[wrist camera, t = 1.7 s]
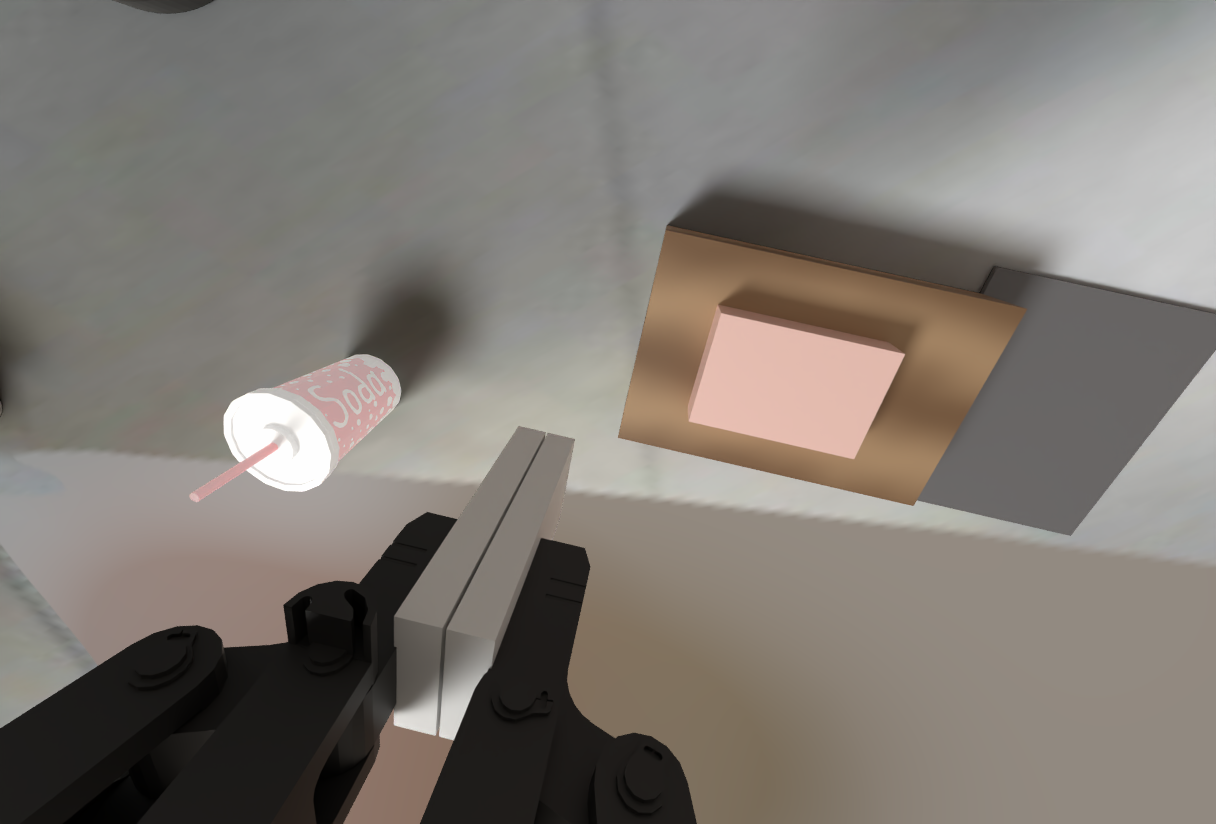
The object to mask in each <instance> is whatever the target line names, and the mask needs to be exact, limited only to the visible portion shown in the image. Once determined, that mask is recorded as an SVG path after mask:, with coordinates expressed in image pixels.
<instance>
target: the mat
mask: <svg viewBox="0 0 1216 824" xmlns="http://www.w3.org/2000/svg"><path fill="white" fill-rule="evenodd" d="M980 293H981V294H984V295H987V296H990V297H993V298H996V299H999V300H1002V301H1005V302H1008V303H1011V304H1014V305H1017V306H1020V307H1023V308H1026V309H1027V311H1026V312H1025V314H1024V316H1023V318H1022V319H1021V321H1020V323H1019V324H1018V326H1017V328H1016V330H1015V331H1014V333H1013V335H1012V337H1011V338H1010V340H1009V342H1008V343H1007V345H1006V347H1005V349H1004V350H1003V352H1002V354H1001V356H1000V357H999V359H998V361H997V362H996V364H995V366H994V368H993V369H992V371H991V373H990V375H989V376H988V378H987V380H986V381H985V383H984V385H983V387H982V388H981V390H980V392H979V394H978V395H977V397H976V399H975V400H974V402H973V404H972V406H971V407H970V409H969V411H968V413H967V414H966V416H965V418H964V419H963V421H962V423H961V425H960V426H959V428H958V430H957V431H956V433H955V435H954V437H953V438H952V440H951V442H950V444H949V445H948V447H947V449H946V450H945V452H944V454H943V456H942V457H941V459H940V461H939V463H938V464H937V466H936V468H935V469H934V471H933V473H932V475H931V476H930V478H929V480H928V482H927V483H926V485H925V487H924V488H923V490H922V492H921V494H920V495H919V497H918V499H917V500H918V501H922V502H927V503H931V504H935V505H940V506H944V507H948V508H953V509H957V510H961V511H966V512H970V513H974V514H979V515H983V516H987V517H992V518H996V519H1000V520H1005V521H1009V522H1013V523H1018V524H1022V525H1026V526H1031V527H1035V528H1039V529H1044V530H1048V531H1052V532H1057V533H1061V534H1065V535H1070V536H1071V535H1072V533H1073V532H1074V531H1075V530H1076V528H1077V527H1078V526H1079V524H1080V523H1081V522H1082V521H1083V519H1084V518H1085V517H1086V515H1087V514H1088V513H1089V512H1090V510H1091V509H1092V508H1093V506H1094V505H1095V504H1096V503H1097V501H1098V500H1099V499H1100V498H1101V496H1102V495H1103V494H1104V492H1105V491H1106V490H1107V489H1108V487H1109V486H1110V485H1111V483H1112V482H1113V481H1114V480H1115V478H1116V477H1117V476H1118V474H1119V473H1120V472H1121V471H1122V469H1123V468H1124V467H1125V466H1126V464H1127V463H1128V462H1129V460H1130V459H1131V458H1132V457H1133V455H1134V454H1135V453H1136V451H1137V450H1138V449H1139V448H1140V446H1141V445H1142V444H1143V442H1144V441H1145V440H1146V439H1147V437H1148V436H1149V435H1150V434H1151V432H1152V431H1153V430H1154V428H1155V427H1156V426H1157V425H1158V423H1159V422H1160V421H1161V419H1162V418H1163V417H1164V416H1165V414H1166V413H1167V412H1168V410H1169V409H1170V408H1171V407H1172V405H1173V404H1174V403H1175V402H1176V400H1177V399H1178V398H1179V396H1180V395H1181V394H1182V393H1183V391H1184V390H1185V389H1186V387H1187V386H1188V385H1189V384H1190V382H1191V381H1192V380H1193V378H1194V377H1195V376H1196V375H1197V373H1198V372H1199V371H1200V369H1201V368H1202V367H1203V366H1204V364H1205V363H1206V362H1207V361H1208V359H1209V358H1210V357H1211V355H1212V354H1213V353H1214V352H1215V350H1216V314H1213V313H1208V312H1204V311H1199V310H1195V309H1190V308H1185V307H1181V306H1176V305H1171V304H1167V303H1162V302H1158V301H1153V300H1148V299H1144V298H1139V297H1134V296H1130V295H1125V294H1121V293H1116V292H1111V291H1107V290H1102V289H1097V288H1093V287H1088V286H1083V285H1079V284H1074V283H1070V282H1065V281H1060V280H1056V279H1051V278H1046V277H1042V276H1037V275H1033V274H1028V273H1023V272H1019V271H1014V270H1009V269H1005V268H1000V267H996V266H994V268H993V270H992V272H991V274H990V275H989V277H988V279H987V281H986V283H985V285H984V287H983V289H982V291H981V292H980Z"/></svg>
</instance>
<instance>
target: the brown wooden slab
mask: <svg viewBox="0 0 1216 824" xmlns="http://www.w3.org/2000/svg"><path fill="white" fill-rule="evenodd" d="M717 305H722V306H727V307H731V308H736V309H740V310H745V311H749V312H754V313H758V314H763V315H767V316H772V317H776V318H781V319H786V320H790V321H795V322H799V323H804V324H808V325H813V326H817V327H822V328H826V329H831V330H835V331H840V332H844V333H849V334H853V335H858V336H862V337H867V338H871V339H876V340H880V341H885V342H889V343H890V344H892V345H893V346H894V347H896V348H897V349H899V350H900V351H902V352H903V353H904V354H905V356H904V358H903V360H902V362H901V364H900V366H899V368H898V370H897V372H896V374H895V376H894V379H893V381H892V383H891V385H890V387H889V389H888V391H887V393H886V395H885V397H884V399H883V401H882V403H881V405H880V407H879V409H878V411H877V413H876V415H875V417H874V420H873V422H872V424H871V426H870V428H869V430H868V432H867V434H866V436H865V438H864V440H863V442H862V444H861V446H860V448H859V450H858V452H857V454H856V456H855V458H854V459H850V458H846V457H842V456H837V455H833V454H829V453H824V452H820V451H815V450H811V449H807V448H802V447H798V446H794V445H789V444H785V443H780V442H776V441H772V440H767V439H763V438H759V437H754V436H750V435H746V434H741V433H737V432H732V431H728V430H724V429H719V428H715V427H711V426H706V425H702V424H698V423H693V422H689V419H688V404H689V400H690V397H691V393H692V390H693V387H694V383H695V380H696V376H697V373H698V370H699V366H700V363H701V359H702V356H703V353H704V349H705V346H706V342H707V339H708V336H709V332H710V329H711V325H712V322H713V319H714V315H715V312H716V309H717ZM1026 311H1027V309H1026V308H1023V307H1020V306H1017V305H1014V304H1011V303H1008V302H1005V301H1002V300H999V299H996V298H993V297H990V296H987V295H984V294H981V293H976V292H972V291H967V290H963V289H958V288H954V287H949V286H944V285H940V284H935V283H931V282H926V281H921V280H917V279H912V278H908V277H903V276H898V275H894V274H889V273H885V272H880V271H875V270H871V269H866V268H862V267H857V266H853V265H848V264H843V263H839V262H834V261H830V260H825V259H820V258H816V257H811V256H807V255H802V254H797V253H793V252H788V251H784V250H779V249H774V248H770V247H765V246H761V245H756V244H752V243H747V242H742V241H738V240H733V239H729V238H724V237H719V236H715V235H710V234H706V233H701V232H696V231H692V230H687V229H683V228H678V227H673V226H669V225H667V227H666V231H665V235H664V240H663V244H662V248H661V253H660V257H659V261H658V266H657V270H656V274H655V279H654V283H653V287H652V291H651V296H650V300H649V304H648V309H647V313H646V317H645V322H644V326H643V330H642V335H641V339H640V343H639V348H638V352H637V356H636V361H635V365H634V369H633V374H632V378H631V382H630V386H629V391H628V395H627V399H626V404H625V408H624V412H623V417H622V422H621V426H620V431H619V435H618V438H622V439H626V440H630V441H635V442H639V443H643V444H648V445H652V446H656V447H661V448H665V449H669V450H674V451H678V452H682V453H687V454H691V455H695V456H700V457H704V458H708V459H713V460H717V461H721V462H726V463H730V464H734V465H739V466H743V467H747V468H752V469H756V470H760V471H765V472H769V473H773V474H778V475H782V476H786V477H791V478H795V479H799V480H804V481H808V482H812V483H817V484H821V485H825V486H830V487H834V488H838V489H842V490H847V491H851V492H855V493H860V494H864V495H868V496H873V497H877V498H881V499H886V500H890V501H894V502H899V503H903V504H907V505H912V506H914V504H915V502H916V501H917V499H918V497H919V495H920V494H921V492H922V490H923V488H924V487H925V485H926V483H927V482H928V480H929V478H930V476H931V475H932V473H933V471H934V469H935V468H936V466H937V464H938V463H939V461H940V459H941V457H942V456H943V454H944V452H945V450H946V449H947V447H948V445H949V444H950V442H951V440H952V438H953V437H954V435H955V433H956V431H957V430H958V428H959V426H960V425H961V423H962V421H963V419H964V418H965V416H966V414H967V413H968V411H969V409H970V407H971V406H972V404H973V402H974V400H975V399H976V397H977V395H978V394H979V392H980V390H981V388H982V387H983V385H984V383H985V381H986V380H987V378H988V376H989V375H990V373H991V371H992V369H993V368H994V366H995V364H996V362H997V361H998V359H999V357H1000V356H1001V354H1002V352H1003V350H1004V349H1005V347H1006V345H1007V343H1008V342H1009V340H1010V338H1011V337H1012V335H1013V333H1014V331H1015V330H1016V328H1017V326H1018V324H1019V323H1020V321H1021V319H1022V318H1023V316H1024V314H1025V312H1026Z"/></svg>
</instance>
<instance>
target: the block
mask: <svg viewBox="0 0 1216 824" xmlns="http://www.w3.org/2000/svg"><path fill="white" fill-rule="evenodd" d="M904 356H905V354H904V353H903V352H902V351H900V350H899V349H897V348H896V347H894V346H893V345H892V344H890V343H889V342H885V341H880V340H876V339H871V338H867V337H862V336H858V335H853V334H849V333H844V332H840V331H835V330H831V329H826V328H822V327H817V326H813V325H808V324H804V323H799V322H795V321H790V320H786V319H781V318H776V317H772V316H767V315H763V314H758V313H754V312H749V311H745V310H740V309H736V308H731V307H727V306H722V305H717V309H716V312H715V315H714V319H713V322H712V325H711V329H710V332H709V336H708V339H707V342H706V346H705V349H704V353H703V356H702V359H701V363H700V366H699V370H698V373H697V376H696V380H695V383H694V387H693V390H692V393H691V397H690V400H689V404H688V419H689V422H693V423H698V424H702V425H706V426H711V427H715V428H719V429H724V430H728V431H732V432H737V433H741V434H746V435H750V436H754V437H759V438H763V439H767V440H772V441H776V442H780V443H785V444H789V445H794V446H798V447H802V448H807V449H811V450H815V451H820V452H824V453H829V454H833V455H837V456H842V457H846V458H850V459H854V458H855V456H856V454H857V452H858V450H859V448H860V446H861V444H862V442H863V440H864V438H865V436H866V434H867V432H868V430H869V428H870V426H871V424H872V422H873V420H874V417H875V415H876V413H877V411H878V409H879V407H880V405H881V403H882V401H883V399H884V397H885V395H886V393H887V391H888V389H889V387H890V385H891V383H892V381H893V379H894V376H895V374H896V372H897V370H898V368H899V366H900V364H901V362H902V360H903V358H904Z"/></svg>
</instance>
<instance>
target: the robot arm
mask: <svg viewBox="0 0 1216 824" xmlns="http://www.w3.org/2000/svg"><path fill="white" fill-rule="evenodd" d="M113 1H116V2H119V3H122V4H125V5H128V6H131V7H134V8H137V9H140V10H144V11H148V12H154V13H165V14H170V13H181V12H187V11H191V10H194V9H197V8H200V7H202V6H204V5H206V4H208V3H210V2H211V1H213V0H113ZM545 433H546V432H542V431H538V430H533V429H529V428H525V427H520V426H519V427H518V428H517V430H516V431H515V433H514V434H513V436H512V437H511V439H510V440H509V442H508V443H507V445H506V447H505V448H504V450H503V451H502V453H501V454H500V456H499V457H498V459H497V460H496V462H495V463H494V465H493V466H492V468H491V469H490V471H489V472H488V474H487V475H486V477H485V479H484V480H483V482H482V483H481V485H480V486H479V488H478V489H477V491H476V492H475V494H474V496H473V497H472V498H471V500H470V501H469V503H468V505H467V506H466V507H465V509H464V510H463V512H462V514H461V515H460V517H459V518H458V519H454V518H450V517H446V516H441V515H437V514H433V513H429V512H427V513H425V514H423V515H421V516H420V517H418V518H416V519H415V520H413V521H411V522H410V523H408V524H407V525H406V526H405V527H404V529H403V530H402V531H401V532H400V533H399V535H398V536H397V537H396V538H395V540H394V541H393V544H392V545H390V546H389V547H388V548H387V550H386V551H385V552H384V554H383V555H382V557H381V559H379V560H378V561H377V562H376V563H375V564H374V566H373V567H372V568H371V569H370V571H369V572H368V573H367V575H366V576H365V577H364V578H363V579H362V581H361V582H360V584H356V583H354V582H345V581H333V582H328V583H323V584H318V585H315V586H313V587H310V588H309V589H306V590H304V591H301V592H299V593H298V594H296V595H295V596H294V597H293V598H291V600H289V601H288V602H287V603H285V604H284V613H285V620H286V627H287V634H288V642H286V643H280V644H273V645H262V646H247V647H246V646H245V647H229V648H224V647H223V643H222V639H221V638H220V637H219V636H218V635H217V634H216V633H215V631H213V630H212V629H208V628H205V627H201V626H198V625H196V626H179V627H178V626H177V627H174V628H170V629H167V630H163V631H160V632H156V633H153V634H151V635H149V636H148V637H146V638H144V639H142V640H140V641H138V642H136V643H134V644H132V645H130V646H129V647H127V648H125V649H124V650H122V651H121V652H119V653H118V654H116V655H115V656H113V657H111V658H110V659H108V660H107V661H105V662H104V663H102V664H101V665H99V666H97V667H96V668H94V669H93V670H91V671H89V672H88V673H86V674H85V675H83V676H82V677H80V678H79V679H77V680H75V681H74V682H72V683H71V684H69V685H68V686H66V687H64V688H63V689H61V690H60V691H58V692H57V693H55V694H53V695H52V696H50V697H49V698H47V699H46V700H44V701H43V702H41V703H39V704H38V705H36V706H35V707H33V708H32V709H30V710H28V711H27V712H25V713H24V714H22V715H21V716H19V717H18V718H16V719H14V720H13V721H11V722H10V723H8V724H7V725H5V726H3V727H2V728H0V824H343V822H344V821H345V819H346V817H347V815H348V813H349V811H350V809H351V807H352V805H353V803H354V801H355V799H356V798H357V795H358V794H359V792H360V790H361V788H362V786H363V784H364V782H365V780H366V778H367V776H368V774H369V772H370V770H371V768H372V766H373V764H374V762H375V759H376V757H377V754H378V750H379V747H380V739H379V738H380V736H379V735H380V733H381V730H382V729H383V727H384V725H385V723H386V722H387V719H388V718H389V716H390V714H391V712H392V710H393V709H394V725H395V726H399V727H403V728H407V729H411V730H415V731H419V732H423V733H427V734H431V735H436V733H437V731H438V729H439V727H440V733H439V736H440V737H443V738H447V739H451V740H454V741H453V744H452V746H451V749H450V751H449V753H448V756H447V758H446V761H445V763H444V766H443V768H442V771H441V773H440V776H439V778H438V781H437V783H436V786H435V788H434V791H433V793H432V795H431V798H430V800H429V803H428V805H427V808H426V810H425V813H424V815H423V817H422V820H421V822H420V824H697V823H696V818H695V814H694V809H693V805H692V800H691V796H690V792H689V787H688V783H687V780H686V777H685V775H684V772H683V770H682V767H681V764H680V762H679V761H678V760H677V759H676V757H675V756H674V755H673V753H672V752H671V751H670V750H669V749H668V747H667V746H665V745H663V744H662V743H661V742H659V741H658V740H656V739H654V738H653V737H651V736H647V735H642V734H638V733H631V734H627V735H623V736H618V737H617V738H613V737H612V736H611V735H609V734H607V733H606V732H604V731H603V730H602V729H600V728H599V727H597V726H595V725H594V724H593V723H591V722H590V721H589V720H588V719H587V718H585V717H584V716H583V715H582V714H581V712H580V711H579V710H578V709H577V708H576V706H575V705H574V702H573V700H572V698H571V696H570V693H569V689H568V683H567V675H568V666H569V662H570V657H571V653H572V648H573V644H574V639H575V634H576V630H577V625H578V621H579V616H580V612H581V607H582V602H583V598H584V594H585V589H586V584H587V580H588V575H589V570H590V564H589V561H588V557H587V554H586V551H585V548H582V547H578V546H573V545H569V544H565V543H561V542H557V541H553V537H554V534H555V531H556V528H557V525H558V522H559V520H560V515H561V510H562V505H563V499H564V494H565V489H566V484H567V478H568V473H569V468H570V462H571V457H572V452H573V446H574V441H575V439H572V438H568V437H564V436H559V435H555V434H551V433H548V434H547V436H546V438H545Z"/></svg>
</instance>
